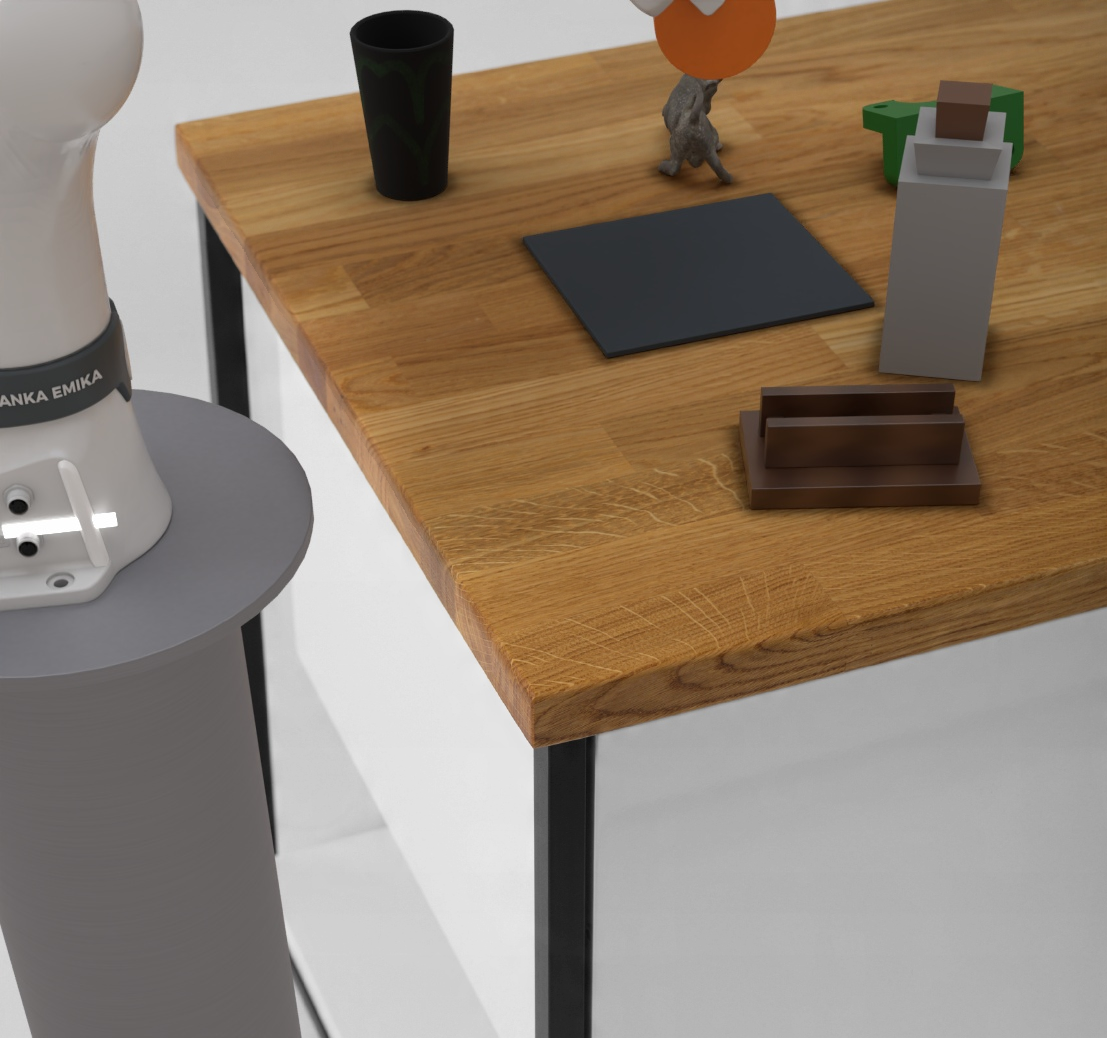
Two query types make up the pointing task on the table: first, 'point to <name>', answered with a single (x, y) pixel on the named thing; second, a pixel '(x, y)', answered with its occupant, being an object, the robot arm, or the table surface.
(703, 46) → the disc
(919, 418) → the rack
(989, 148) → the perfume bottle
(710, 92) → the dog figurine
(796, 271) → the mat
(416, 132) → the cup
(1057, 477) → the table surface
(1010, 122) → the clamp
